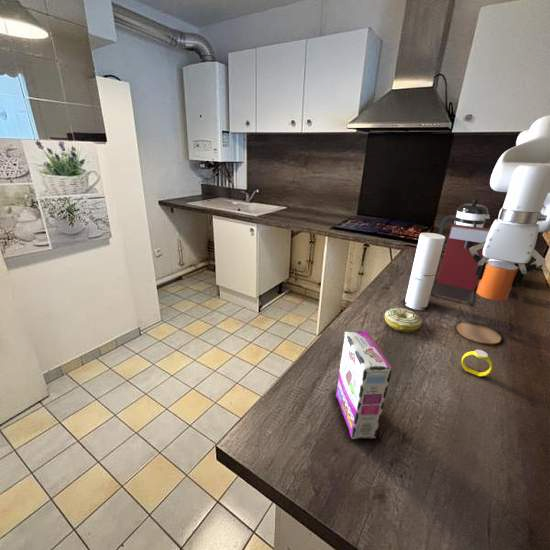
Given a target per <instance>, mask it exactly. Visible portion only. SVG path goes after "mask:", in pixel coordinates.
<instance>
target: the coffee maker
mask: <svg viewBox="0 0 550 550" xmlns="http://www.w3.org/2000/svg"><path fill="white" fill-rule="evenodd" d="M489 231H490V228H486V227H483V228H479V227H471V226H464V225H456V224H454V223H452V224H451V226H450V231H449V234H448V238H447V241H446V243H447V245H446V246H445V249H444V253H443V256H444V257H443V256H442V261H441V265H440V269H439V271H438V275H437V279H436V280H437V281H436V283H435V285H434V287H433V288H432V290H431V294H434V295H438V296H443V297H446V298H450V299H454V300H458V301H462V302H465V303H470V304H473V300H474V295H475V290H476V287H477V285H478V281H479V280H478V279H477V278H478V275H475V274H476V271H477V268H478V263H477V262H476V261H475V259H474V258H473V256H472V254H471V253H470V251H469V248H470V247H473V246H475V245H477V244H480V243H482V242H485V241H486V238H487V235H488V233H489ZM477 253H478V255H479V256H480V257H483V248H481V249H479V250H477Z"/></svg>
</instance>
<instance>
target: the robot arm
mask: <svg viewBox="0 0 550 550" xmlns="http://www.w3.org/2000/svg"><path fill="white" fill-rule="evenodd" d="M489 185H490V188H491V189H492V190H493V191H495V192H499V193H506V196H505V199H504V202H503V205H502V207H501V208H500V210H499V212H498V217H497V218H495V219H494V220H493V223H492V224H491V226H490V227H489V229H490V231H489V233H488V235H487V238H486V241H485V242H482V243H480V244H477V245H475V246H473V247H470V248H469V251H470V253H471V254H472V256H473V258H474V259H475V261H476V262H477V263H478V268H477V271H476V274H475V275H478V278H477V279H478V281H480V279H481V276H482V273H483V270H484V267H485V263H486V262H487V261H502V262H506V263H510V264H513V265H515V266H516V264H517V265H518V268H519V269H518V272H517V274H516V277H515V280H514V282H513V285H512V288H517V287H518V285H521V283H522V281H523V278H524V276H525V274H527V273H528V272H531V271H533V270H535V269H537V268H539V267H541V266H543V265H544V264H546V263H547V261H546V258H544V257H543V256H542V255H541V254H540V253H539V252H538V251H537V250H536V249H535V247H536V244H537V239H538V235H539V233H543V234H544V233H548V232H550V114H548V115H544V116H542V117H540V118H538V119H536V120H535V121H534V122H533V123H532V124H531V125H530V127H529V129H526V130H523V131H521V132H520V133H519V134H518V136H517V138H516V141H515V146H513V147H511V148H509V149H507V150H505V151H504V152H503V153H502V154H501V155H500V157H499V158H498V159H497V162H496V163H495V165H494V168H493V169H492V173H491V175H490V179H489ZM481 248H483V257H480V256H479V255H478V253H477V250H479V249H481ZM532 258H534V259H535V261H533V262H531V263H529V262H530V261H531V259H532Z"/></svg>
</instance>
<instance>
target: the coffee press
mask: <svg viewBox="0 0 550 550" xmlns="http://www.w3.org/2000/svg"><path fill="white" fill-rule="evenodd" d="M471 201H472V203H462V204H461V205H459V206H458V207H457V208H456V214H455V215H454V214H449V215H446V216H444V217H443V218H442V220H441V222H440V226H439V230H438V233H437V234H439V235H443V233H444V230H445V226H446V223H447V221H448V220H451V219H452V220H453V219H454V223H453V224H456V225H464V226H471V227H479V228H484V225H485V223H486V220H490V219H491V218H490V214H489V210H488V207H487V206H485V205H483V204H478V202H479V200H478V199H477V198H474V199H472V200H471ZM446 245H447V242H445V241H444V244H443V247H446ZM443 257H444V255H443V256H442V258H443Z"/></svg>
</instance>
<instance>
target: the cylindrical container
mask: <svg viewBox="0 0 550 550" xmlns="http://www.w3.org/2000/svg"><path fill="white" fill-rule="evenodd" d="M445 240H446V236H445V235H443V234H442V235H439V234H438V233H434V232H421V233H419V237H418V242H417V246H416V251H415V254H414V260H413V264H412V269H411V274H410V277H409V282H408V287H407V290H406V295H405V303H404V305H405V306H406V307H407V308H410V309H412V310H417V311H425V310H426V308H427V307H428V305H429V302H430V298H431V294H432V291H433V286H434V283H435V279H436V274H437V271H438V267H439V262H440V259H441V255H442V250H443V248H444V246H443V244H444V242H445Z"/></svg>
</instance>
